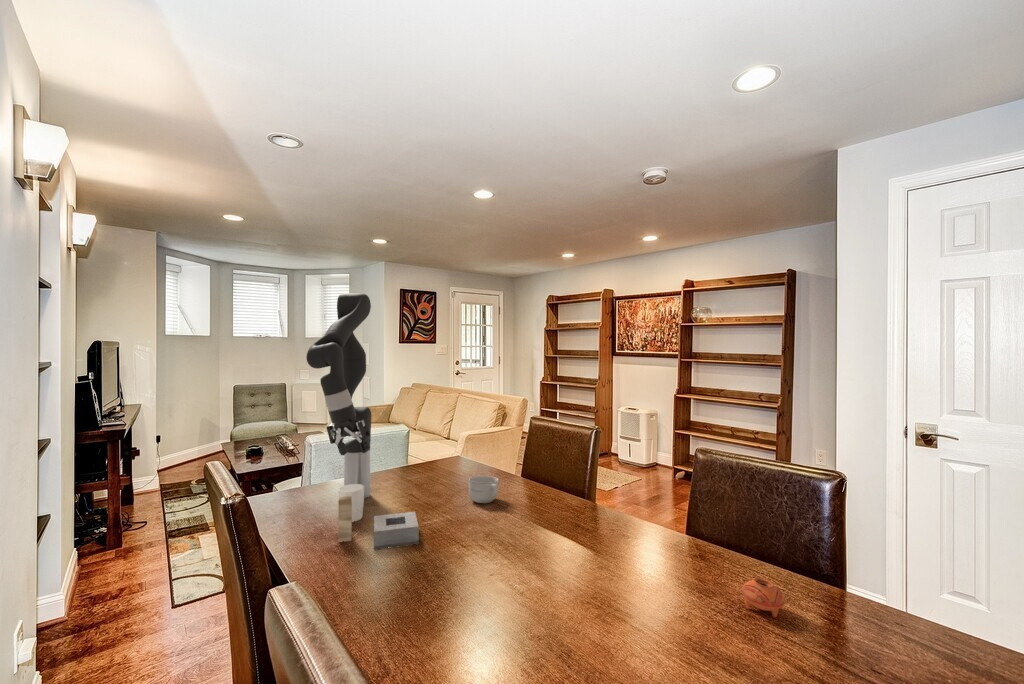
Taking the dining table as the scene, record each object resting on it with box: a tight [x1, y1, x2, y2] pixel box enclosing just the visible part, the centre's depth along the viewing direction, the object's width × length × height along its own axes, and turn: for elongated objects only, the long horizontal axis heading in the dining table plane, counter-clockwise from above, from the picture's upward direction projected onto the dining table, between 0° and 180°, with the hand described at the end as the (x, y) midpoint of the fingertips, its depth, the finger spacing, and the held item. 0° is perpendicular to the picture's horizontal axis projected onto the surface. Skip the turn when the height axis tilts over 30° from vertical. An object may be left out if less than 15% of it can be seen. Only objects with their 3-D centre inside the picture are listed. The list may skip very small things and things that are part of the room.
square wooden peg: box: [338, 495, 353, 543], centre depth 131 cm, size 3×3×12 cm
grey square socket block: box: [373, 511, 420, 550], centre depth 131 cm, size 12×12×5 cm
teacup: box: [468, 475, 499, 504], centre depth 162 cm, size 14×11×8 cm
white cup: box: [338, 484, 365, 523], centre depth 147 cm, size 8×8×10 cm
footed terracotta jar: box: [741, 577, 786, 618], centre depth 95 cm, size 8×8×7 cm
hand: (354, 453), depth 145 cm, fingers open, 8 cm apart
